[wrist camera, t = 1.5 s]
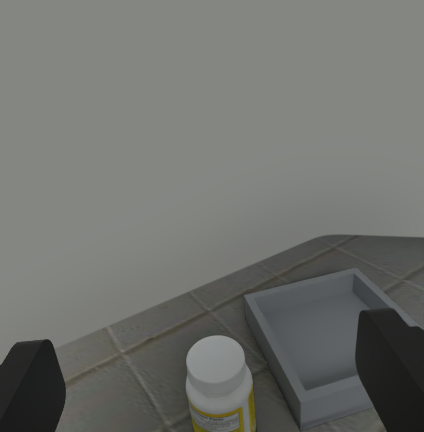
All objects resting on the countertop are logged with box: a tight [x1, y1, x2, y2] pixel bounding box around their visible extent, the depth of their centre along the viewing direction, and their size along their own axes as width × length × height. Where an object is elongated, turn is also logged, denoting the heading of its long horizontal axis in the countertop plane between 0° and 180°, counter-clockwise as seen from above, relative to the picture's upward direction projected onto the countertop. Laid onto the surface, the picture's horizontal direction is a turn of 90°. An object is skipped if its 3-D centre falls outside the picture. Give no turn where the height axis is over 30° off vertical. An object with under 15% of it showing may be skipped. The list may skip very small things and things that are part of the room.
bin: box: [244, 268, 424, 431], centre depth 34 cm, size 13×13×3 cm
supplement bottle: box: [186, 335, 257, 432], centre depth 27 cm, size 5×5×8 cm
